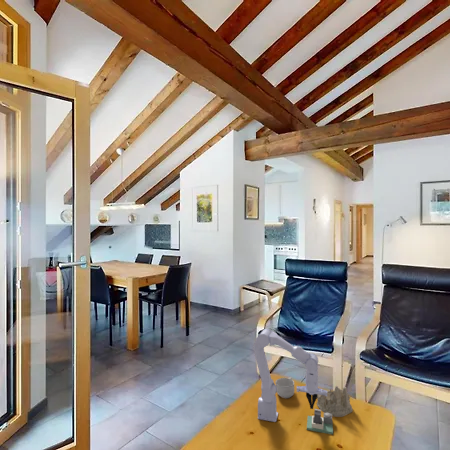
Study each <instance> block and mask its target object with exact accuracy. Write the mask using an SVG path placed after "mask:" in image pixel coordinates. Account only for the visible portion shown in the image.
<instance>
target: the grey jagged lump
mask: <svg viewBox="0 0 450 450" xmlns="http://www.w3.org/2000/svg"><path fill="white" fill-rule="evenodd" d="M326 391H327V396H325V395H319V394H317V399H316V406H317V407H318V408H319V410H321V412H323V413H330V414H332V417H335V418H342V417H345V416H347V415H349V414H351V413H353V406H352V404H351V400H350V399H351V397H350V396H349V393H348V389H347V387H346V386H343V387H342V389H341V388H339V386H337V385H336V386H335V387H334V390H332V389H329V390H326Z"/></svg>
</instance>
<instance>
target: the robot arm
mask: <svg viewBox="0 0 450 450" xmlns="http://www.w3.org/2000/svg"><path fill="white" fill-rule="evenodd" d="M268 345H269V346H275V345H276V346H278V347H280V348H282V349H283V350H285V351H287V352H289V353H290V354H291V357H292V358H294V359H296V360H297V361H299V362H301V363H302V364H304V366H305V369H306V370H305V385H302V386H301V385H300V386H299V385H296V393H299V392H300V393H305V397H306V399H307V400H308V404H309V409H310V410H314V406H315V403H316V402H317V394H319V395H325V396H327V391H328V390H326V389H323V388H320V387H319V369H318V365H319V358H318V356H317V355H316V354H315V353H312V352H308V351H306V350H305V349H303V347H302V346H298V345H296V346H295V345H292V344H291V343H290V342H288V341H287V340H285V339H284V338H282V337H281V336H280V335H278V334H277V333H276V332H275V331H273V330H271V329H269V328H264V329H263V330H262V331H261V332H260V333H259V334H258V335H257V337H255V342H254V345H253V347H252V349H253V353H254V356H255V361H256V365H257V369H258V374H259V376H260V377H259V378H260V380H261V385H260V389H261V396H260V397H258V401H257V419H258V420H260V421H261V420H262V421H267V422H268V421H269V422H272V423H273V422H274V423H276V422H277V421H278V420H277V419H278V416H279V412H278V411H277V397H276V394H277V387H276V383H275V382H274V379H272V376H271V373H270V368H269V365H268V364H269V363H268V361H267V357H266V352H265V347H267V346H268Z"/></svg>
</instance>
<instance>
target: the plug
mask: <svg viewBox="0 0 450 450" xmlns="http://www.w3.org/2000/svg"><path fill="white" fill-rule="evenodd" d="M313 416H314V423H317V424H321V417H322V410H321V409H320V408H319V409H317V408H314V412H313Z"/></svg>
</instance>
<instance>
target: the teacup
mask: <svg viewBox="0 0 450 450" xmlns="http://www.w3.org/2000/svg"><path fill="white" fill-rule="evenodd" d="M274 384H275V385H276V387H277V392H276V394H277V395H278V396H279V397H281V398H283V399H290V398H292V396H293V395H295V381H294V380H293V378H292V377H290V376H289V377H288V378H287V377H281V378H278V379H276V380H275V382H274Z"/></svg>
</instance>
